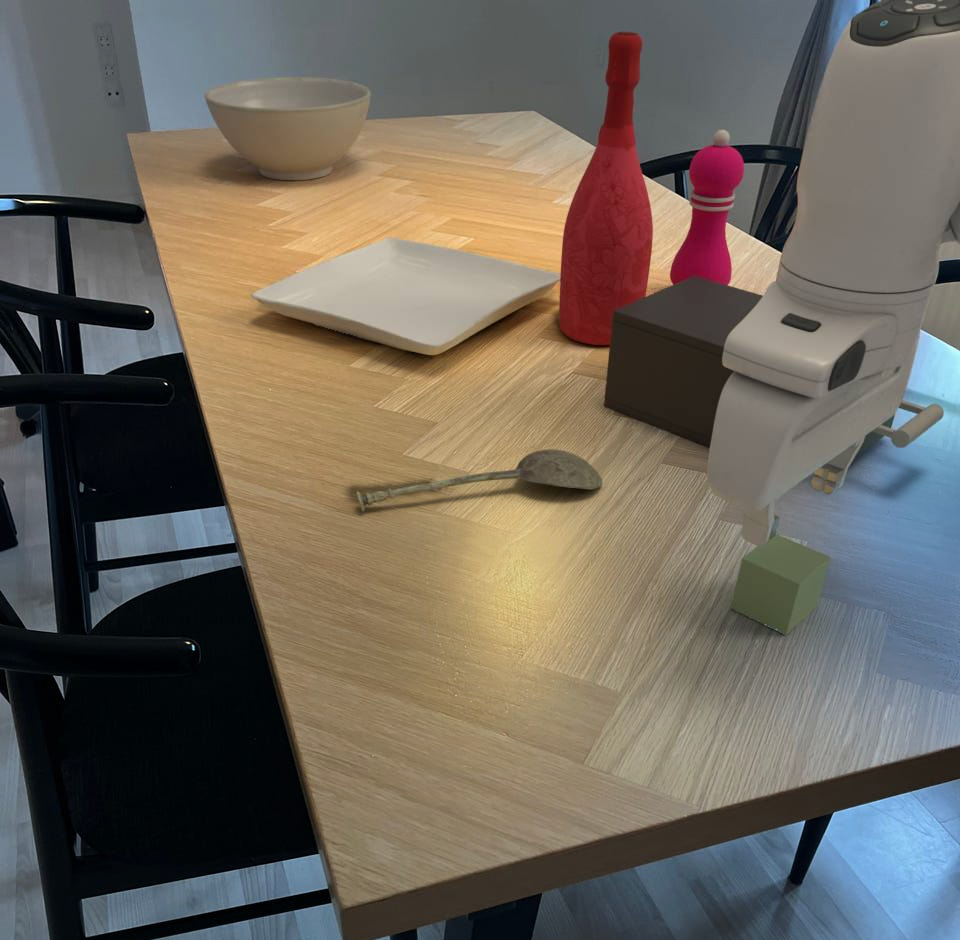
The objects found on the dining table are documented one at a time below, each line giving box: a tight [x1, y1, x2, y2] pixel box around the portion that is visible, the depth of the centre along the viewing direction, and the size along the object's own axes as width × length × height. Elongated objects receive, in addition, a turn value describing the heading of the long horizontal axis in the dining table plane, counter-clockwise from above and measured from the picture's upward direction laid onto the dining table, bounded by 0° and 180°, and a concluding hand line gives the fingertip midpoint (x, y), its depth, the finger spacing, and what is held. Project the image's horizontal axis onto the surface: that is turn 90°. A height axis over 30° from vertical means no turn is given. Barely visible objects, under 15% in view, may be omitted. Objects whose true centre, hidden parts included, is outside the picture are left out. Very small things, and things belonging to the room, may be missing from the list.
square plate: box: [250, 237, 561, 356], centre depth 117 cm, size 27×27×4 cm
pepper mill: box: [669, 129, 745, 286], centre depth 113 cm, size 7×7×20 cm
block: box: [730, 533, 832, 635], centre depth 71 cm, size 5×5×5 cm
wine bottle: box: [558, 31, 654, 346], centre depth 104 cm, size 10×10×30 cm
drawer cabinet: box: [603, 276, 764, 448], centre depth 96 cm, size 16×14×10 cm
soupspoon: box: [356, 448, 603, 513], centre depth 85 cm, size 22×3×7 cm
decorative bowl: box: [204, 76, 372, 181], centre depth 164 cm, size 27×27×12 cm
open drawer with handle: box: [854, 399, 945, 459], centre depth 90 cm, size 20×13×8 cm, turn 47°
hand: (792, 512), depth 68 cm, fingers open, 8 cm apart
